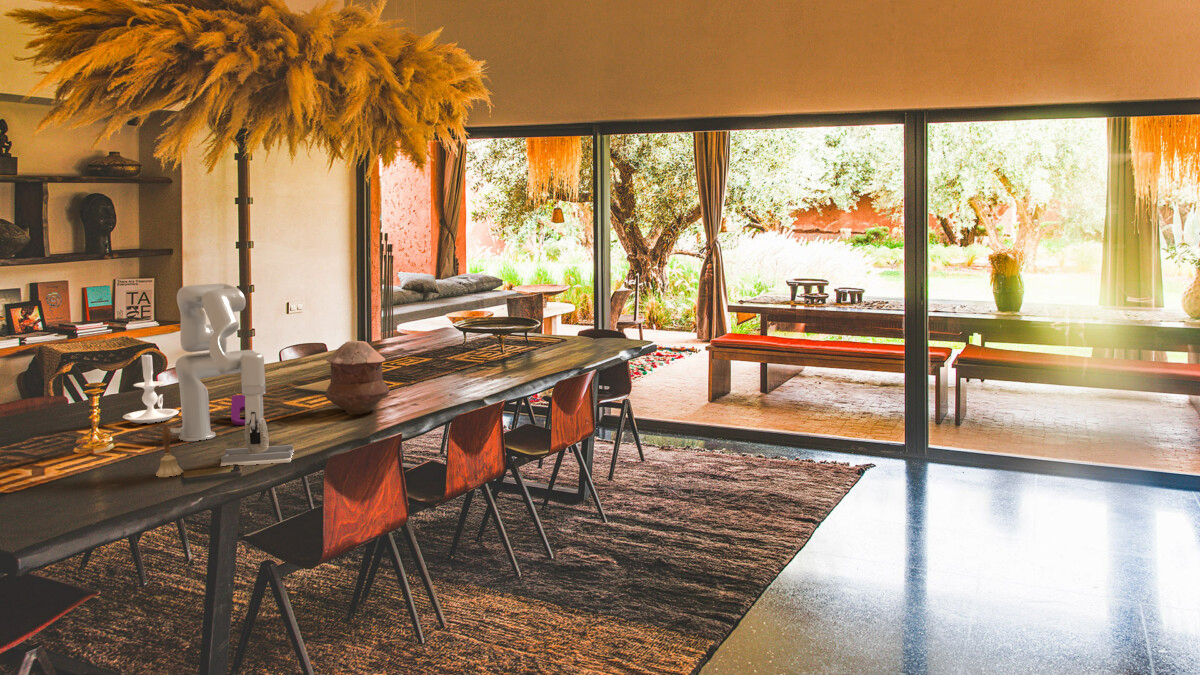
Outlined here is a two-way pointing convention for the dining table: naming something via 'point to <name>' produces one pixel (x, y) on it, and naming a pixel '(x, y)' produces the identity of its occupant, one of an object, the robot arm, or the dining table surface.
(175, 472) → the hand bell
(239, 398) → the mounting bracket
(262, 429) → the carving
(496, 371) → the dining table surface
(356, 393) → the pottery vessel
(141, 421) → the candlestick
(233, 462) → the rail plate
